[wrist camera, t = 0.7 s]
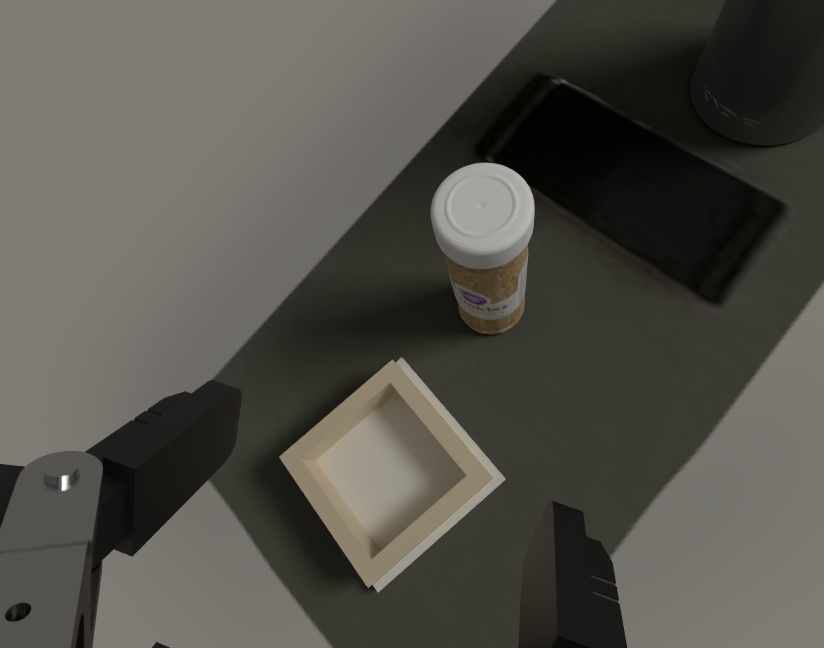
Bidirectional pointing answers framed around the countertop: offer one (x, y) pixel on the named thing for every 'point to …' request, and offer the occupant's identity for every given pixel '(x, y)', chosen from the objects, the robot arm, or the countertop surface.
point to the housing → (390, 472)
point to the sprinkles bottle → (485, 242)
